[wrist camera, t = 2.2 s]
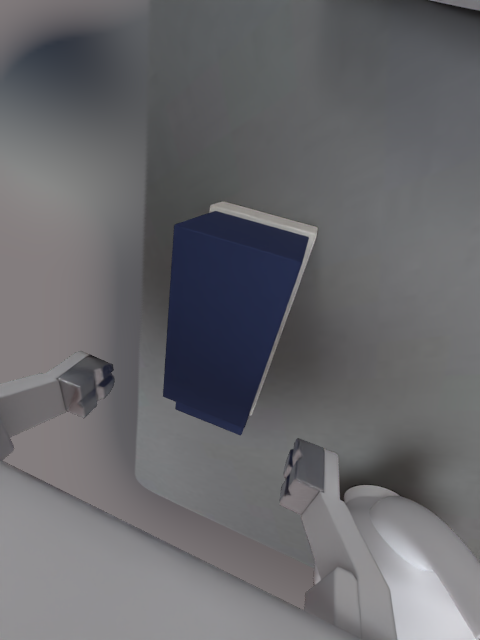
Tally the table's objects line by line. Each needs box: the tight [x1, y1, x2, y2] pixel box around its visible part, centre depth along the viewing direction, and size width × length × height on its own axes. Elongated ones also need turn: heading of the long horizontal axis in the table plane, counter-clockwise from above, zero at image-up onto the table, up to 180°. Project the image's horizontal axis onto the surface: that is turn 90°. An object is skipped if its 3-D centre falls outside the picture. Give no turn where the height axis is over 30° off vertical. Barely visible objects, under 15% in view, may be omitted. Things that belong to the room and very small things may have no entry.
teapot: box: [314, 485, 480, 640], centre depth 18 cm, size 10×20×9 cm, turn 174°
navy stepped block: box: [163, 201, 318, 435], centre depth 14 cm, size 13×5×6 cm, turn 168°
